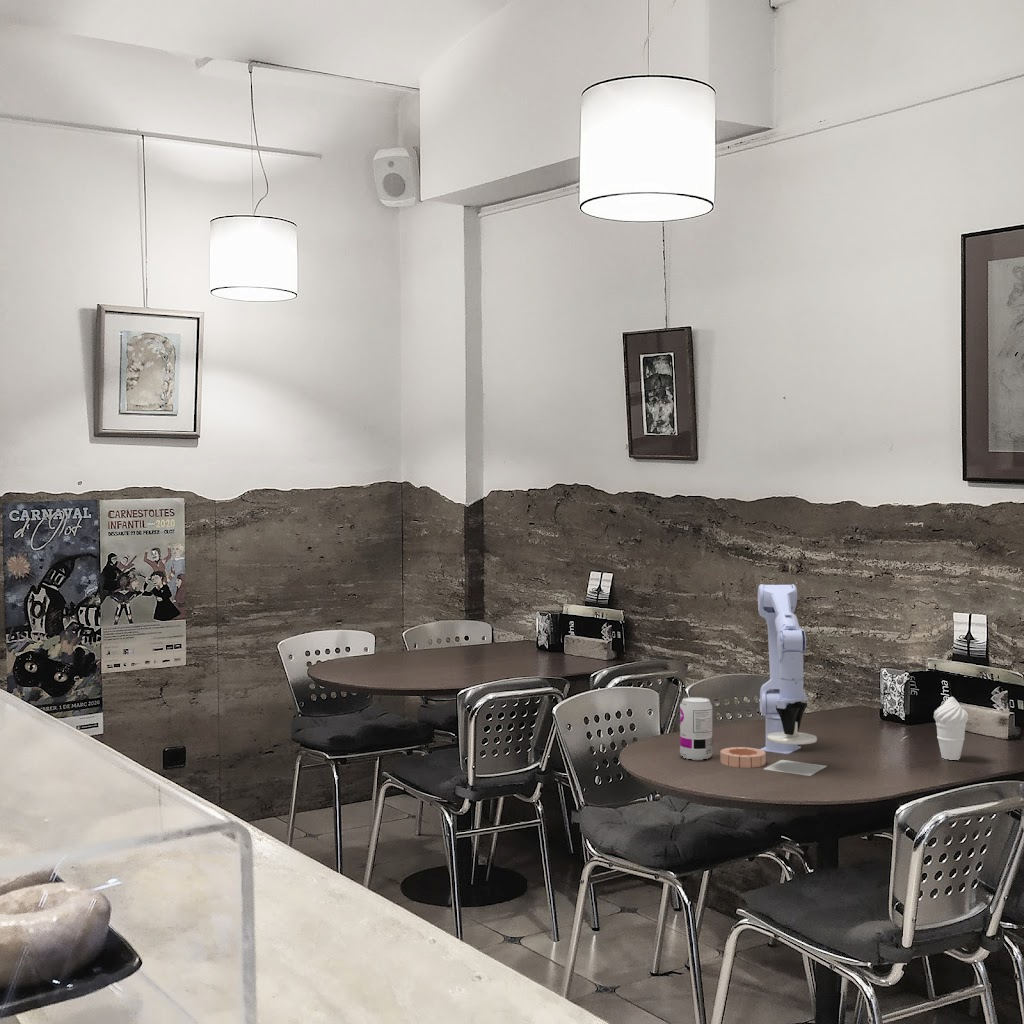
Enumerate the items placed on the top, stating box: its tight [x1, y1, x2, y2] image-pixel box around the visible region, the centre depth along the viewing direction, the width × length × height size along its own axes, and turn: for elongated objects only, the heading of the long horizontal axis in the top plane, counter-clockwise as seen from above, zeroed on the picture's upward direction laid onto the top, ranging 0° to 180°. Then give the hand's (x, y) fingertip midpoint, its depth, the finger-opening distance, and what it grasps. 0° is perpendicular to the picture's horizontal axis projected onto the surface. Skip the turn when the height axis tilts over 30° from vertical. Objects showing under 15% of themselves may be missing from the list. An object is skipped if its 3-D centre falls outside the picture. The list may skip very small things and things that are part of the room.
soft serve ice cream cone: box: [933, 696, 969, 761], centre depth 296 cm, size 8×8×16 cm
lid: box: [767, 721, 818, 745], centre depth 287 cm, size 12×12×4 cm
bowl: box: [719, 746, 767, 769], centre depth 293 cm, size 11×11×3 cm
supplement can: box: [679, 696, 713, 761], centre depth 300 cm, size 8×8×15 cm
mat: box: [763, 759, 828, 777], centre depth 287 cm, size 12×12×1 cm
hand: (791, 733), depth 287 cm, fingers closed on lid, 3 cm apart
